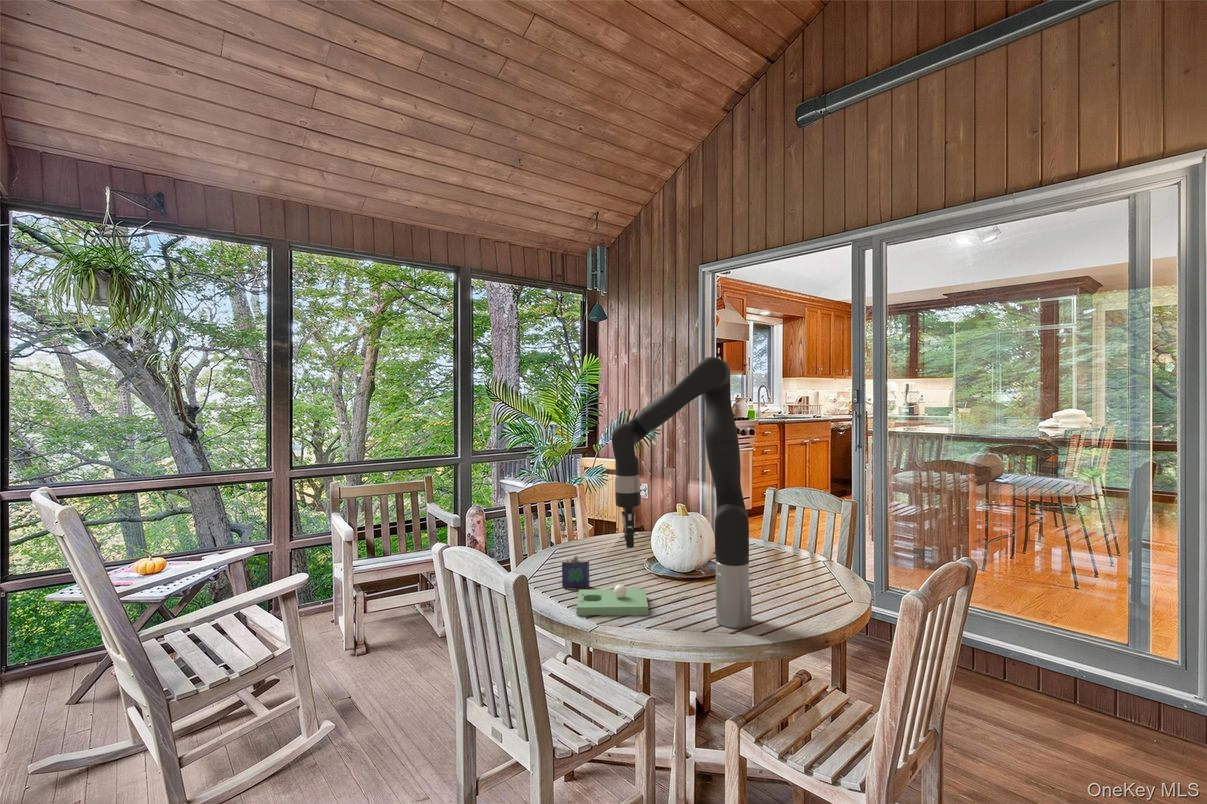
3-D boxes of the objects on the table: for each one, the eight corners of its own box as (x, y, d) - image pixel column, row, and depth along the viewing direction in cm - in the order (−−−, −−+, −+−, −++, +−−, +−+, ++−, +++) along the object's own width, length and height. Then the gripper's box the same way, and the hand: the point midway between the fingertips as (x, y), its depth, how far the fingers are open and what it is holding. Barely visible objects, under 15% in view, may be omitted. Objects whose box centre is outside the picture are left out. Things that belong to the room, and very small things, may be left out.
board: (644, 596, 180) (644, 588, 180) (648, 615, 165) (648, 606, 165) (579, 597, 180) (578, 589, 180) (576, 615, 165) (576, 607, 165)
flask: (589, 585, 191) (588, 554, 191) (589, 588, 189) (589, 556, 188) (562, 586, 191) (561, 555, 190) (562, 589, 188) (561, 557, 188)
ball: (626, 595, 175) (626, 582, 174) (627, 600, 171) (626, 586, 170) (613, 595, 175) (613, 582, 175) (613, 600, 171) (613, 587, 171)
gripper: (642, 493, 162) (643, 549, 162) (638, 485, 176) (639, 537, 176) (616, 494, 162) (617, 550, 162) (614, 486, 176) (615, 538, 176)
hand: (629, 543), depth 169 cm, fingers open, 8 cm apart
